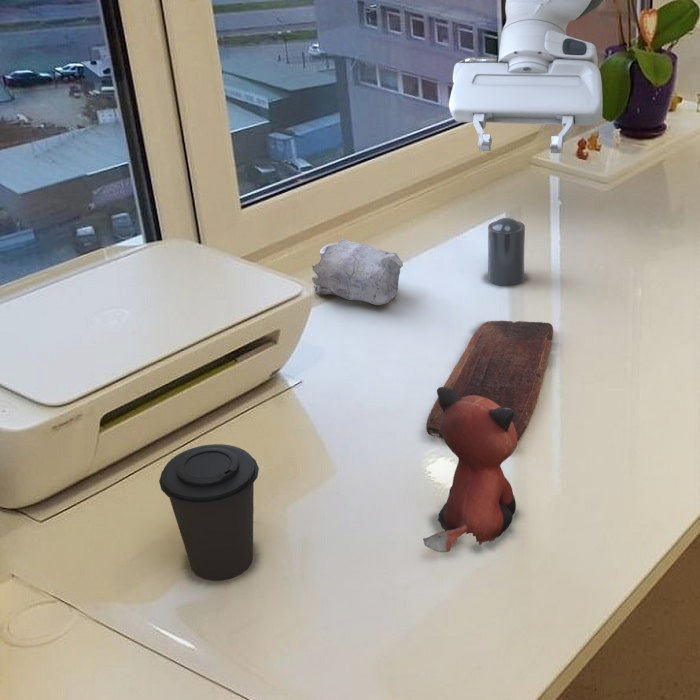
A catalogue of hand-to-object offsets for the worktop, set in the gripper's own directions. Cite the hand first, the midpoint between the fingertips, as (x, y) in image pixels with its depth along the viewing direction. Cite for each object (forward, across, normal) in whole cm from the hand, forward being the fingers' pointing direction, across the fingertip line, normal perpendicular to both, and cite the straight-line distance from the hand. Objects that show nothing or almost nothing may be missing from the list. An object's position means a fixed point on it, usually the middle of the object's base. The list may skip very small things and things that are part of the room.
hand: (519, 150), depth 140 cm
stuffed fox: (+54, +4, -35) cm, 65 cm away
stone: (+23, -18, -3) cm, 29 cm away
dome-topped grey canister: (+17, 0, +2) cm, 17 cm away
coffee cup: (+60, -15, -40) cm, 74 cm away
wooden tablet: (+36, +3, -16) cm, 40 cm away
